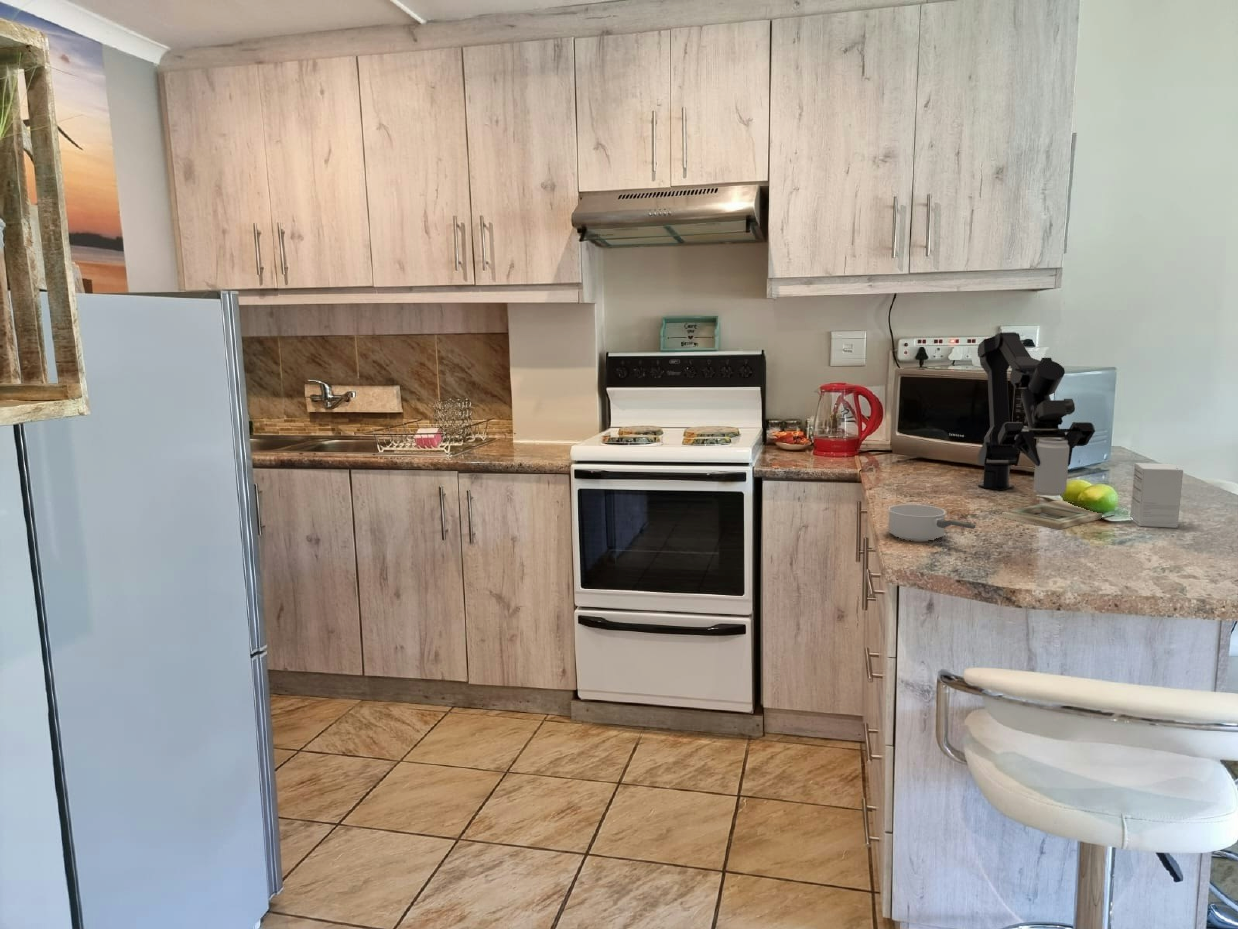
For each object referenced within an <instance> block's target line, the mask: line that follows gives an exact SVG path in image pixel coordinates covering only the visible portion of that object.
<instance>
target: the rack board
mask: <svg viewBox="0 0 1238 929" xmlns="http://www.w3.org/2000/svg"><path fill="white" fill-rule="evenodd" d="M1068 502H1069V501H1066V500H1065V501H1064V500H1060V499H1057V500H1053V501H1052V500H1051V501H1048V502H1044V503H1038V504H1034V505H1028V506H1026V507H1022V508H1020V507H1019V508H1017V509H1011V510H1008V511H1003V512H1001V519H1005V518H1006V519H1007V520H1011V521H1015V520H1016V521H1015V522H1020V523H1023V524H1024V523H1025V524H1029V525H1034V524H1035V526H1039V527H1044V528H1049V527H1050V529H1053V530H1054V529H1055V530H1062V529H1067V528H1071V527H1074V526H1079V525H1082V524H1086V523H1090V522H1094V521H1097V520H1101V517H1102V513H1097V512H1093V511H1090V510H1086V509H1084V508H1081V507H1078V506H1074V505H1072V504H1070V503H1068ZM1035 513H1036V514H1035ZM1040 513H1044V514H1048V513H1049V514H1048V515H1054V516H1059V517H1063V518H1054V517H1053V518H1052V517H1050V516H1049V517H1048V516H1042V515H1037V514H1040ZM1006 519H1005V520H1006Z"/></svg>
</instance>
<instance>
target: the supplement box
mask: <svg viewBox="0 0 1238 929" xmlns="http://www.w3.org/2000/svg"><path fill="white" fill-rule="evenodd" d="M1183 475H1184V470H1183V469H1182V468H1181V467H1179V466H1177V465H1175V464H1173V463H1149V462H1148V463H1147V462H1146V463H1144V462H1135V463H1134V468H1133V480H1132V490H1131V491H1132V493H1131V504H1130V515H1129V518H1130V517H1132V518H1133V520H1132V521H1133V522H1134V524H1136V525H1137V526H1138V527H1148V528H1149V527H1152V528H1173V529H1174V528H1175V529H1177V528H1179V518H1180V509H1181V508H1180V506H1181V498H1182V497H1181V495H1182V488H1183V487H1182V486H1183V477H1184V476H1183Z"/></svg>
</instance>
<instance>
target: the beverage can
mask: <svg viewBox="0 0 1238 929" xmlns="http://www.w3.org/2000/svg"><path fill="white" fill-rule="evenodd" d="M1067 442H1068V441H1067V440H1064V439H1060V438H1038V442H1037V444H1035V445H1036V448H1037V453H1038V457H1039V459H1040V465H1039V466H1036V465H1035V464H1034V476H1033V477H1034V478H1033V491H1035V492H1036V494H1038V495H1041V496H1046V497H1047V496H1048V497H1050V496H1051V497H1057V496H1062V495H1063V494H1064V493H1066V492H1067V483H1068V482H1067V481H1068V470H1069V466H1068V459H1069V445H1068V444H1067Z"/></svg>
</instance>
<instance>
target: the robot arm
mask: <svg viewBox="0 0 1238 929" xmlns="http://www.w3.org/2000/svg"><path fill="white" fill-rule="evenodd" d="M977 357H978V358H979V361H980V362H979V363H980V364H979V365H980V366H981V368H982V369H983V370H984V372H985V373H986V374H987V375H986V376H987V389H988V390H987V393H988V409H989V410H988V411H989V412H988V414H989V429H988V431H987V432H986V434H985V435H984V438H983V443H982V446H981V447H980V450H979V452H978V454H977V462H978V464H979V465H981V466H984V470H983V481H982V483H980V484H977V486H978V488H984V489H989V490H997V491H1003V490H1004V491H1005V490H1008V489H1009V490H1010V489H1014V488H1015V485H1011V484H1010V473H1011V472H1010V470H1011V466H1014V467H1015V466H1016V467H1018V464H1019V461H1020V455H1021V453H1022V454H1024V455H1025V456H1026V457H1027V458H1028V459H1029V460H1030V461H1031V462H1032V463H1033V464H1034V466H1035V465H1036V466H1039V465H1040V459H1039V457H1038V453H1037V448H1036V445H1037V444H1036V443H1035V439H1044V438H1054V439H1064V440H1067V441H1068V442H1067V444H1068V445H1069V459H1068V467H1070V465H1071V460H1072V454H1073V451H1074V450H1073V449H1075V447H1085V446H1087V445H1088V444H1089V442H1090V440H1091V439H1092V437H1093V436H1094V434H1095V433H1096V429H1095V426H1094V424H1093V423H1092V422H1088V421H1073V422H1072V423H1071V425H1070V427H1068V428H1059V425H1060V426H1061V425H1062V423H1063V418H1064V417H1066V416H1067V415H1068V416H1069V415H1072V414H1073V413H1074V412H1075V410H1076V407H1075V402H1074V400H1073V398H1064V399H1061V400H1060V399H1056V400H1055V399H1053V400H1051V397H1050V396H1052V395H1053V394H1055V393H1056V390H1058V387H1059V385H1060V384H1061V382H1062V380H1063V378H1064V375H1065V373H1066V371H1065V367H1063V366H1062V365H1061V364H1060V363H1058V362H1056V361H1053V359H1052V357H1041V359H1040V360H1039V359H1036V358H1033V357H1032V356H1031V354H1030V353H1029V352H1028V350H1027V348H1026V346H1025V345H1024V344H1023V342H1022V341H1021V337H1020V333H1018V332H1015V331H1014V332H1009V331H1007V332H1005V331H1004V332H999V333H995V335H994V336H991V337H988V338H984V339H983V340H982V341H981V342H979V344H978V346H977ZM1009 368H1010V369H1011V371H1010V374H1009V375H1010V377H1009V378H1010V379H1009V380H1010V383H1011V384H1012V386H1013V388H1014V389H1015V390H1016V389H1018V390H1019V389H1023V390H1022V391H1021V394H1020V402H1019V405H1021V406H1023V409H1024V410H1023V411H1024V412H1025V413H1024V414H1025V418H1024V422H1025V424H1027V425H1025V424H1024V422H1021V421H1010V420H1011V419H1010V405H1009V404H1010V402H1009V400H1010V399H1009V388H1008V387H1009V384H1008V382H1009V381H1008V370H1009Z"/></svg>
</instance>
